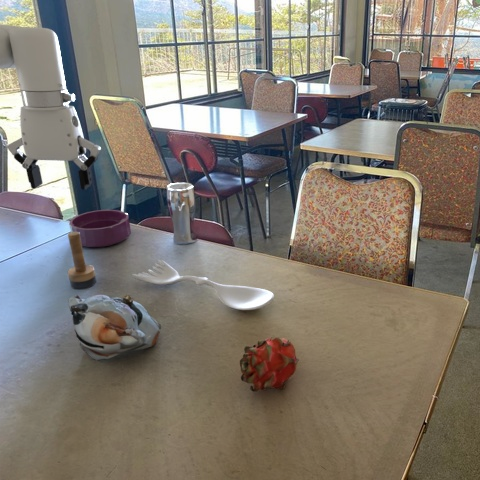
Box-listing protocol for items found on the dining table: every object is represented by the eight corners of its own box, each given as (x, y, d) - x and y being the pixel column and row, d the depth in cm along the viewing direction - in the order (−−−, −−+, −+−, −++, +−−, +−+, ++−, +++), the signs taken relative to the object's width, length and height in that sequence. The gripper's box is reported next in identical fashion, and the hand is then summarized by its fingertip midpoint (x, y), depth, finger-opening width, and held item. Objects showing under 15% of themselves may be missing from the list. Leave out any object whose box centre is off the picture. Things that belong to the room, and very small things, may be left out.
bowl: (63, 249, 121) (59, 229, 119) (86, 228, 134) (83, 209, 132) (120, 249, 122) (117, 229, 120) (138, 228, 135) (135, 209, 133)
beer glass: (192, 246, 125) (187, 191, 119) (167, 244, 125) (160, 189, 119) (202, 236, 131) (198, 183, 125) (178, 234, 132) (172, 181, 126)
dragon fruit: (240, 411, 74) (286, 377, 84) (278, 400, 69) (322, 366, 79) (217, 360, 74) (266, 332, 84) (254, 346, 69) (300, 319, 79)
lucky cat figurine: (176, 333, 89) (163, 295, 78) (129, 387, 82) (107, 354, 71) (115, 295, 93) (94, 253, 82) (66, 344, 86) (35, 306, 75)
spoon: (160, 269, 112) (158, 256, 111) (281, 300, 101) (281, 286, 99) (132, 286, 105) (130, 272, 103) (259, 322, 93) (259, 306, 92)
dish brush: (66, 289, 103) (54, 238, 98) (77, 277, 108) (67, 228, 103) (90, 289, 103) (80, 238, 98) (100, 278, 108) (91, 229, 103)
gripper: (100, 98, 94) (112, 182, 100) (9, 95, 93) (27, 180, 100) (84, 104, 87) (98, 194, 94) (-15, 100, 86) (7, 191, 93)
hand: (61, 187), depth 97 cm, fingers open, 9 cm apart
